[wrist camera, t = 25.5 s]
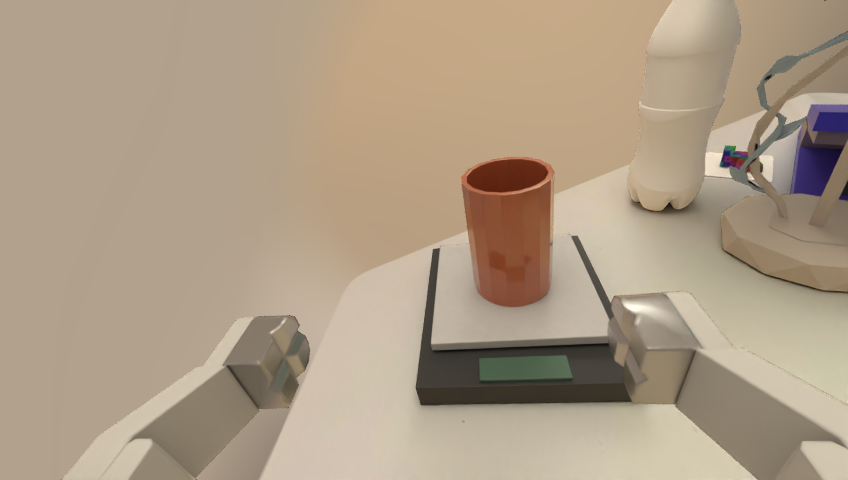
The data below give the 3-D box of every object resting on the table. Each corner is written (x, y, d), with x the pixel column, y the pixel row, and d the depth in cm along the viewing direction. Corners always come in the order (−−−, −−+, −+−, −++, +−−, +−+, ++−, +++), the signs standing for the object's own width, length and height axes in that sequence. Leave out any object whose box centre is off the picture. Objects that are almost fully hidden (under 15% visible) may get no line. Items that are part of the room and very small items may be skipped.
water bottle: (700, 218, 38) (785, -89, 25) (623, 213, 41) (663, -60, 28) (693, 188, 43) (761, -80, 30) (626, 186, 47) (660, -57, 33)
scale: (420, 404, 26) (412, 379, 24) (435, 263, 40) (431, 241, 38) (644, 401, 23) (652, 372, 22) (576, 251, 37) (578, 226, 36)
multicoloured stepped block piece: (718, 169, 46) (723, 151, 45) (721, 160, 48) (725, 143, 46) (762, 172, 43) (768, 153, 42) (762, 163, 45) (769, 145, 44)
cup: (476, 309, 29) (461, 199, 23) (473, 261, 34) (461, 163, 29) (559, 304, 28) (563, 187, 22) (543, 255, 33) (543, 152, 28)
